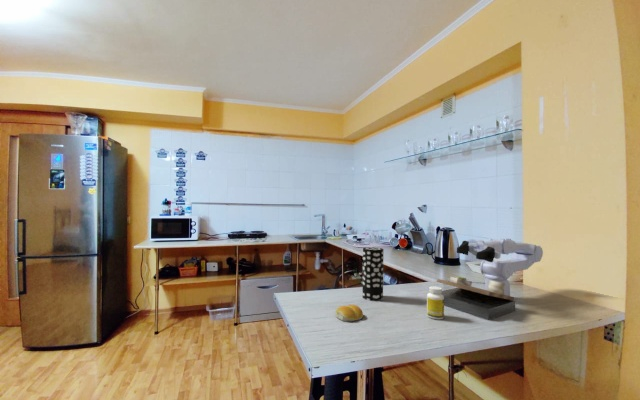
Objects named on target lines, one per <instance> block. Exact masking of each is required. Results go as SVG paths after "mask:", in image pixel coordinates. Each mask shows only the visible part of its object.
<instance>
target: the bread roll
mask: <svg viewBox="0 0 640 400" xmlns="http://www.w3.org/2000/svg"><path fill="white" fill-rule="evenodd" d="M363 315H364V312H363V310H362V308H361V307H359V306H358V305H355V304H348V305H342V306H341V305H340V306H338V307H337V309H336V310H335V317H336V319H338V320H340V321H342V322H349V321H351V322H355V321H359V320H362V318H363V317H364V316H363Z"/></svg>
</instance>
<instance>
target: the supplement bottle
mask: <svg viewBox="0 0 640 400" xmlns="http://www.w3.org/2000/svg"><path fill="white" fill-rule="evenodd" d="M428 289H429V292H428V293H427V294H426V316H427V317H428V318H430V319H432V320H443V319H444V317H445V306H444V296H443V295H442V294H441V293H442V291H443V288H442V287H440V286H434V285H433V286H429V288H428Z"/></svg>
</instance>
